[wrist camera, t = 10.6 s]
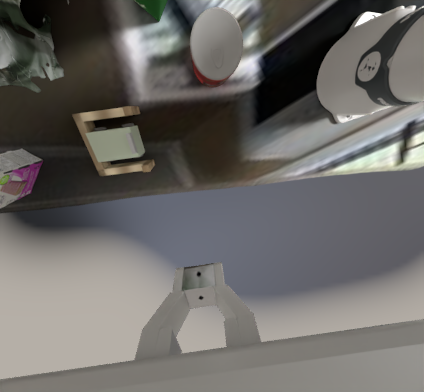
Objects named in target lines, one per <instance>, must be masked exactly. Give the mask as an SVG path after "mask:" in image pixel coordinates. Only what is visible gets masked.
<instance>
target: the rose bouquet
mask: <svg viewBox="0 0 424 392" xmlns="http://www.w3.org/2000/svg"><path fill="white" fill-rule="evenodd" d="M67 1H68V0H67ZM20 2H21V0H0V86H5V85H16V86H23V87H27V88H29V89H31V90H33V91H35V92H37V93H39V91H41V90H40V89H39V88H38V87H37V86H36V85H35V84H34V83H32V82H31V80H30V79H31V77H32V76H40V77H41V78H45V75H44V73H43V70H42V68H41V66H43V67H44V69H45V71H46V72H47V75H48V77H49V78H50V80H53V79H55V78H56V79H57V78H59V77H63V76H64V74H63V68H61V67H60V65H59V63H58V61H57V59H56V56H55V54H54V52H53V50H54V45H53V40H52V36H51V21H52V20H51V19H50V17H49V16H48V15H44V18H43V25H42V27H41V28H39V29H36V28H34V27H33V26H32V25H30V24H28V23H27V22H26V20H25V19H24V17H23V15H22V13H21V10H20ZM68 4H69V1H68ZM3 20H4V22H5V21H10V22H11V24H12V25H13V27H14V28H15V29H16V30H19V29H18V26H22V27H23V28H24V29H26V30H27V31H31V32H33V33H34V34H35V36H34V37H35V38H34V39H31V38H28V37H26V36H23V35H20V34H18V33H16V32H15V31H14V30H13V29H12V28H11V27H10V26H8V25H7V24H5V23H4V22H3ZM49 20H50V24H49V25H48V23H49ZM46 63H49V65H50V67H47V66H46Z"/></svg>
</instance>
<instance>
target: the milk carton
mask: <svg viewBox="0 0 424 392" xmlns="http://www.w3.org/2000/svg"><path fill="white" fill-rule="evenodd" d="M134 1H135V2H136V3H137V4H138V5H140V6H141V7H142V8H143V9H144V10H146V11H147V12H148V13H149V14H150V15H151V16H153V17H154V18H155V19H156V20H157V21H160V18H161V16H162V13H163V11H164V8H165V6H166V3H167V1H168V0H134Z"/></svg>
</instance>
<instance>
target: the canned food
mask: <svg viewBox="0 0 424 392" xmlns="http://www.w3.org/2000/svg"><path fill="white" fill-rule="evenodd" d="M190 50H191V58H192V63H193V69H194V72H195V74H196V76H197V78H198V79H199V81H200V82H201V83H202V84H204V85H206V86H208V87H217V86H220V85H221V84H223V83H224V82H225V81H226V80H227V79H228V78H229V77H230V76H231V75H232V74H233V72H234V71H235V70H236V68H237V67H238V64H239V62H240V60H241V56H242V51H243V37H242V32H241V28H240V26H239V24H238V22H237V20H236V19H235V17H234V16H233V15H232V14H231V13H230V12H229V11H227V10H225V9H223V8H219V7H214V8H210V9H207V10H205V11H204V12H203V13H201V14H200V16H199V17H198V18H197V20H196V21H195V23H194V26H193V28H192V32H191V38H190Z"/></svg>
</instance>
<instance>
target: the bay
mask: <svg viewBox="0 0 424 392" xmlns="http://www.w3.org/2000/svg"><path fill="white" fill-rule="evenodd" d="M138 114H141V113H140V110H139V106H126V107H122V108H115V109H108V110H100V111H93V112H85V113H78V114H72V116H73V118H74V120H75V122H76V125H77V127H78V129H79V131H80V133H81V135H82V138H83V140H84V142H85V144H86V146H87V149H88V151H89V153H90V155H91V157H92V160H93V162H94V164H95V166H96V168H97V170H98V173H99V175H100V176H107V175H114V174H122V173H129V172H136V171H143V172H150V171H151V170H152V168H153V167H154V166H155V162H154V159H150V160H143V161H135V162H128V163H121V164H113V165H111V163H110V162H107V161H105V162H98V161H97V158H96V156H95V154H94V152H93V149H92V147H91V145H90V143H89V140H88V138H87V136H86V134H85V133H89V132H94V128H96V127H95V124H94V122H93V120H101V119H108V118H115V117H123V116H130V115H138Z"/></svg>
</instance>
